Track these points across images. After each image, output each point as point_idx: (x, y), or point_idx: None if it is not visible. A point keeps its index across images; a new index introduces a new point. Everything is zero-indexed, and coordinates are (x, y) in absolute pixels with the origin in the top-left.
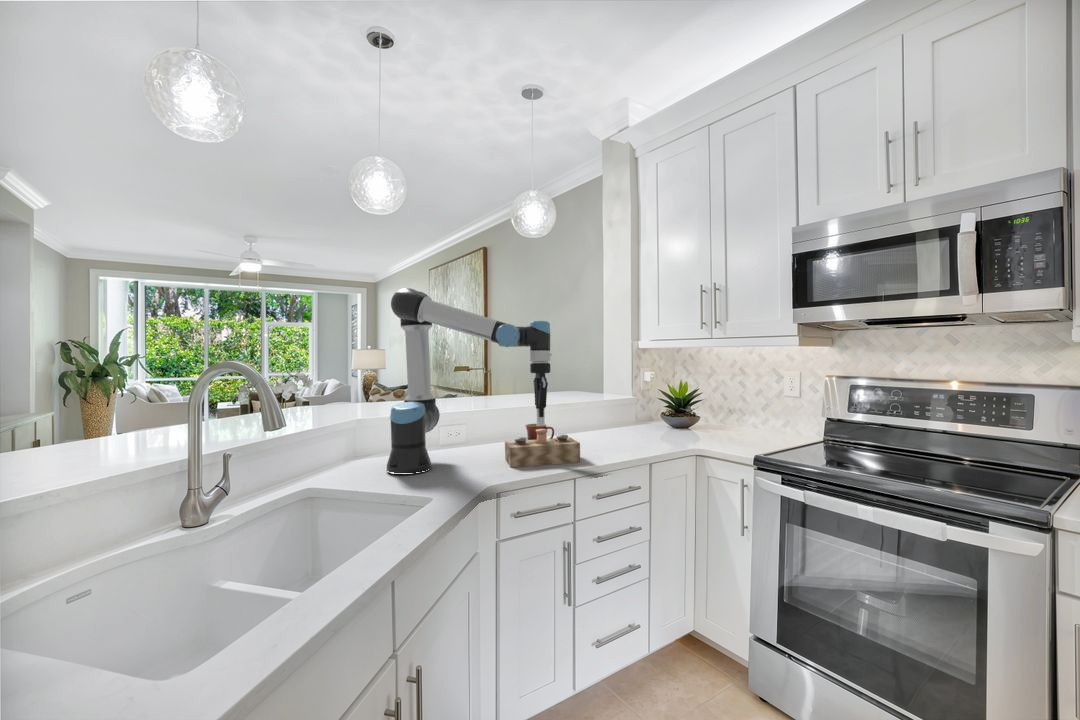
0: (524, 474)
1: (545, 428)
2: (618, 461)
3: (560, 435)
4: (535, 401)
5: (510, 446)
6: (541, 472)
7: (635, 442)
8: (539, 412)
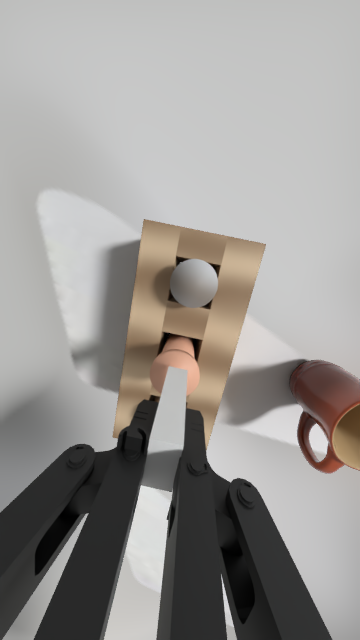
0: (77, 242)
1: (330, 448)
2: None
3: None
4: (251, 530)
5: (164, 228)
6: (79, 286)
7: None
8: (144, 422)
